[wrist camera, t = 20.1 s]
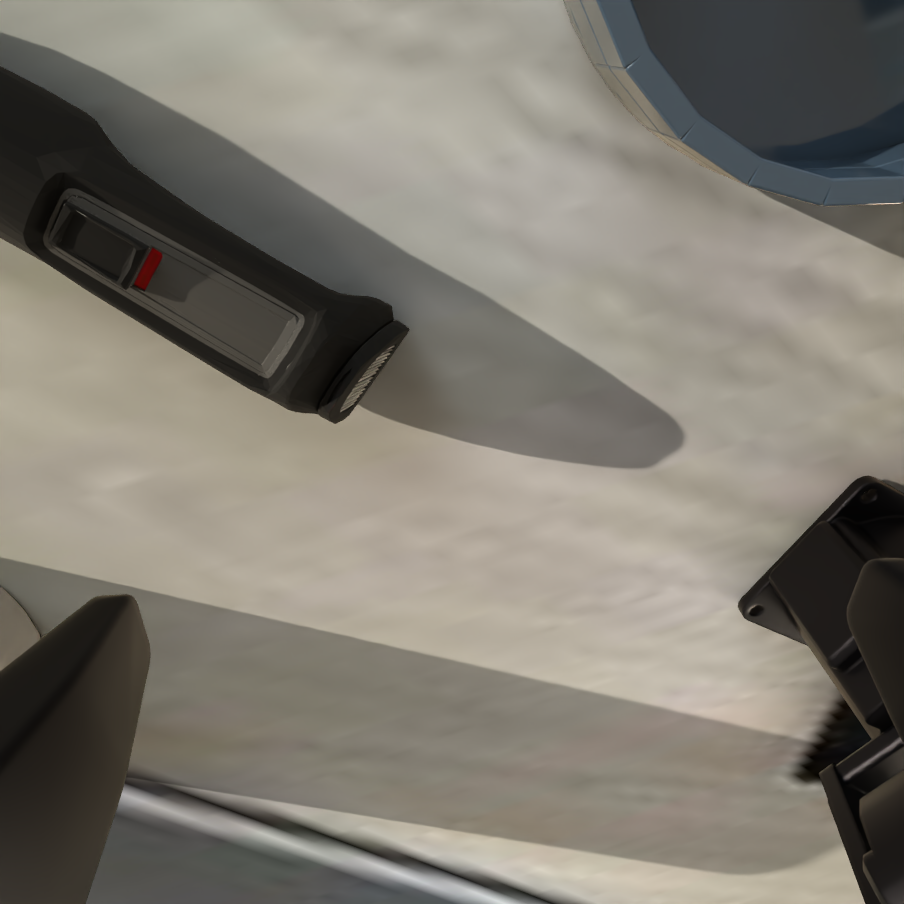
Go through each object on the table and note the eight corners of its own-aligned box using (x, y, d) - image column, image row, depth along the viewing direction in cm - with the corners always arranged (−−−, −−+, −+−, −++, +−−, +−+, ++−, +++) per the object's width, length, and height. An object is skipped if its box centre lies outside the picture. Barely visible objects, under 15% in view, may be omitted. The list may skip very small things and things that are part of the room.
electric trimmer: (-227, -118, 14) (-381, -156, 11) (419, 314, 19) (422, 360, 17) (-266, 59, 15) (-410, 64, 13) (346, 416, 21) (337, 474, 18)
